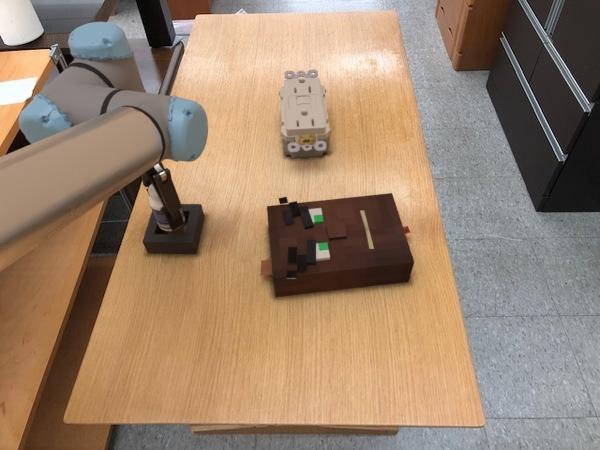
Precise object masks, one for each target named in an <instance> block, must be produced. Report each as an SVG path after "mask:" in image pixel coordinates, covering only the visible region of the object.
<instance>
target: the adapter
mask: <svg viewBox="0 0 600 450" xmlns="http://www.w3.org/2000/svg"><path fill="white" fill-rule="evenodd" d="M181 204H182V211H183V213H184V217H185V221H184V224H186V226H185V230H184V234H183V233H173V234H172V233H165V230H162V229H161V228H160V227H159V225H158V223H157V221H156V219H155V216H154V214H153V212H152V211H151V214H150V216H149V219H148V222H147V226H146V229H145V231H144V234H143V237H142V241H141V242H142V245H143V246H144V249H145V250H146V252H147V254H159V255H160V254H163V255H165V254H168V255H170V254H171V255H176V254H177V255H197V253H198V249H199V245H200V240H201V236H202V231H203V227H204V223H205V217H206V215H205V212H204V209H203V205H202V203H181Z"/></svg>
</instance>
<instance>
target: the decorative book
mask: <svg viewBox="0 0 600 450" xmlns="http://www.w3.org/2000/svg"><path fill="white" fill-rule="evenodd" d="M278 202H279V204H273V205H267V206H266V211H267V225H268V236H269V237H268V238H269V248H270V259H260V276H272V283H273V290H274V295H275V298H280V297H281V298H282V297H289V296H299V295H306V294H307V295H308V294H316V293H325V292H333V291H334V292H335V291H343V290H350V289H361V288H368V287H369V288H370V287H377V286H378V287H379V286H387V285H396V284H405V283H410V279H411V275H412V272H413V269H414V265H415V260H414V256H413V253H412V250H411V248H410V244H409V241H408V237H407V235H406V234H411V231H410V229H409V226H408V225H406V226H403V222H402V219H401V217H400V213H399V210H398V207H397V203H396V200H395V197H394V195H393V193H392V192H389V193H388V192H387V193H379V194H370V195H360V196H352V197H342V198H332V199H322V200H312V201H302V202H298V201H297V200H295V201H290V202H289V200H288V197H287V196H282V197H278Z"/></svg>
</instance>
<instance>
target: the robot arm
mask: <svg viewBox="0 0 600 450" xmlns="http://www.w3.org/2000/svg"><path fill="white" fill-rule="evenodd" d="M67 46H68V47H69V50H70V55H71V57H72V58H73V60H72V61H71V62H70V63H69V64H68V65H67V66H66V68H65V69H64V70H63V71H61V72H60V73H59V74H58V75H57V76H56V77H55V78H54V79H52V81H51V82H49V83H48V84H47V85H46V86H45V87H43V88H42V89H41V90H40V91H39V92H38V93H36V94H35V95H34V96H33V98H32V100H31V101H30V102H29V103H28V104H27V105H26V106H25V107H24V108H23V110H21V112H20V113H19V116H18V126H19V129H20V131H21V132H22V134H23V135H24V136H25V139H26V140H27V141H28V142H29V143H30V144H29V145H26V146H24V147H21V148H19V149H16V150H14V151H12V152H9V153H6V154H4V155H2V156H0V273H1V272H2V271H4V270H5V269H7V268H8V267H10V266H11V265H12V264H14V263H15V262H17V261H19V260H20V259H21V258H23V257H24V256H26V255H27V254H28V253H30V252H31V251H33V250H34V249H36V248H38V247H39V246H40V245H41V244H43V243H45V242H46V241H47V240H48V239H50V238H52V237H54V236H55V235H56V234H57V233H59V232H61V231H62V230H63V229H65V228H67V227H68V226H69V225H71V224H73V222H75V221H76V220H79V219H80V218H81V217H82V216H84V215H85V214H87V213H88V212H90V211H91V210H93V209H94V208H95V207H97V206H98V205H100V204H102V203H103V202H104V201H105V200H107V199H108V198H110V197H111V196H114V194H116V193H117V192H119V191H120V190H122V189H123V188H125V187H126V186H128V185H129V184H130V183H132V182H133V181H135V180H137V179H138V180H140V181H142V186H143V187H144V188H145V190H146V192H147V194H148V197H149V196H150V195H149V192H148V188H149V186H150V185H151V184H152V185H153V187H154V189H155V191H156V193H157V195H158V197H159V199H160V201H161V203H162V205H163V207H162V208H161V209H160V210H161V212H162V213H164V214H165V216H166V219H167V221H168V224H169V226H170V228H171V230H172V231H171V232H174V231H176V230H178V229H180V228H181V227H183V226H184V225H185V223H184V221H183V218H182V216H181V213H180V210H179V209H181V208H182V204H183V203H181V200H180V197H179V194H178V191H177V189H176V187H175V184H174V182H173V178H172V173H171V170H170V169H169V168H168V167H166V168H165V166H164V164H163V161H165V160H170V161H173V162H176V163H178V162H186V163H191V162H195V161H197V160H198V159H199V158H200V157H201V155H202V154H203V152H204V150H205V148H206V146H207V142H208V137H209V120H208V115H207V113H206V110H205V109H204V107H203V106H202V105H201V104H200V103H199V102H198V101H197V100H193V99H187V98H183V97H179V96H177V95H165V94H158V93H149V92H147V90H146V89H145V86H144V83H143V80H142V77H141V73H140V70H139V68H138V65H137V61H136V57H135V52H134V50H133V49H132V47H131V45H130V43H129V41H128V38H127V35H126V34H125V31H124V30H123V29H122V27H120V26H119V25H117V24H116V23H114V22H108V21H94V22H88V23H85V24H83V25H80V26H78V27H76V28H74V29H73V30H72V31H71V32H70V33H69V36H68V40H67ZM179 227H180V228H179ZM177 228H178V229H177Z"/></svg>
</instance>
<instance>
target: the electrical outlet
mask: <svg viewBox="0 0 600 450" xmlns="http://www.w3.org/2000/svg"><path fill="white" fill-rule="evenodd" d="M306 72H307V73H306ZM283 75H284V79H283V85H284V86H282V87H280V88H279V91H278V95H279V97H280V119H281V120H280V121H281V130H280V131H279V135H280V137H281V138H282V149H283V151H282V152H283V155H284V156H285V157H286V156H288V155H289V156H290V158H291V159H297V158H315V157H322V156H323V154H324V153H326V154H329V153H330V135H331V134H332V128H331V127H330V123H329V114H328V107H327V98H326V94H327V88H326V87H325V85H323V84H321V78H320V77H319V71H318V69H315V68H314V69H309V70H307V71H304V70H298V71H297V72H295V71H294V70H286V71H284V74H283Z"/></svg>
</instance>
